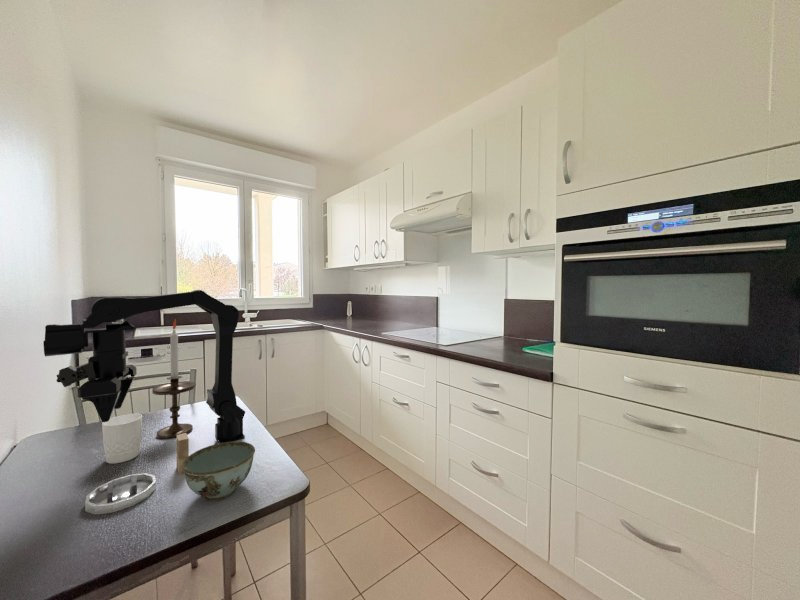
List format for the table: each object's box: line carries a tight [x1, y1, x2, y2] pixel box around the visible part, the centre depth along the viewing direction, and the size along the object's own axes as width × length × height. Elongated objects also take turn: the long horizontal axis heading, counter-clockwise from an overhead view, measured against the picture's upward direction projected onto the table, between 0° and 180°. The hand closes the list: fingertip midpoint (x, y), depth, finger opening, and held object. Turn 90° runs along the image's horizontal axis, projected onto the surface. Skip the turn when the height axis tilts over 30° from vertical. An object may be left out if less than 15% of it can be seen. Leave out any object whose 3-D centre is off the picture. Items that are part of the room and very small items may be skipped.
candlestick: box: [151, 319, 197, 440], centre depth 97 cm, size 11×11×35 cm
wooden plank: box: [175, 433, 190, 475], centre depth 77 cm, size 2×4×8 cm, turn 41°
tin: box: [84, 472, 157, 515], centre depth 66 cm, size 11×11×2 cm
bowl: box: [182, 440, 256, 502], centre depth 68 cm, size 14×13×8 cm
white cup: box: [101, 413, 143, 464], centre depth 82 cm, size 8×8×10 cm
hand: (111, 414), depth 75 cm, fingers open, 9 cm apart
